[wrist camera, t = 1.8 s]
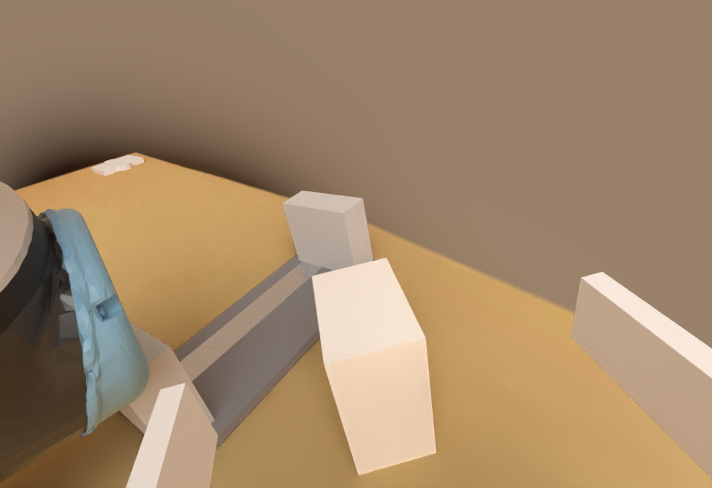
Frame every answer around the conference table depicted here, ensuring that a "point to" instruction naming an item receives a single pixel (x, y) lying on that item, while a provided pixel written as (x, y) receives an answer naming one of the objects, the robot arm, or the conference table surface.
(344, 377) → the block
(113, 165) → the mounting plate
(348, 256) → the block
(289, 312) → the rail board
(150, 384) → the block
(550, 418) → the conference table surface
